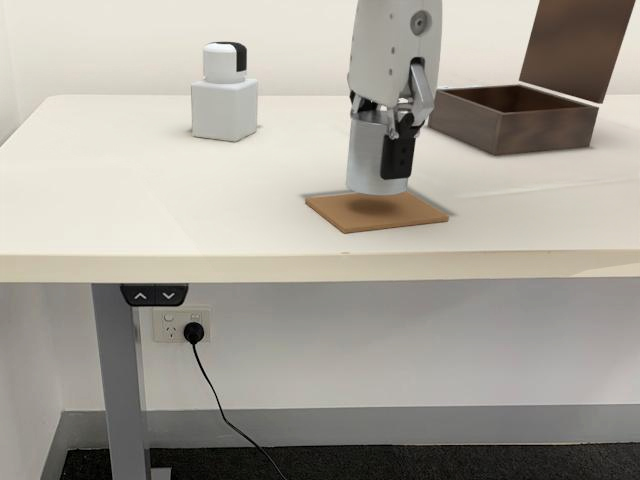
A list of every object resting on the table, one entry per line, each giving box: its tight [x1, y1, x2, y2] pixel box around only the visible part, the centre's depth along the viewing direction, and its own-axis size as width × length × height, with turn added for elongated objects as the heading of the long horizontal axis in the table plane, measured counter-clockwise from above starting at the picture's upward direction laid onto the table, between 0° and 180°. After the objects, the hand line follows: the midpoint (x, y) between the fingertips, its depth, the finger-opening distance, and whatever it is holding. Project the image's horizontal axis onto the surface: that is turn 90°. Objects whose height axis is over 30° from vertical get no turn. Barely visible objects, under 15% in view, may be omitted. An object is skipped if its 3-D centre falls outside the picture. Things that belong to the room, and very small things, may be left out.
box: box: [427, 83, 600, 157], centre depth 104 cm, size 15×17×6 cm
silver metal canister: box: [345, 109, 409, 196], centre depth 77 cm, size 6×6×7 cm
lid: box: [518, 0, 637, 105], centre depth 101 cm, size 16×17×5 cm
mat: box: [304, 190, 450, 234], centre depth 80 cm, size 12×10×1 cm
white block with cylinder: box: [190, 41, 259, 143], centre depth 105 cm, size 7×7×12 cm
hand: (378, 166), depth 78 cm, fingers closed on silver metal canister, 6 cm apart
